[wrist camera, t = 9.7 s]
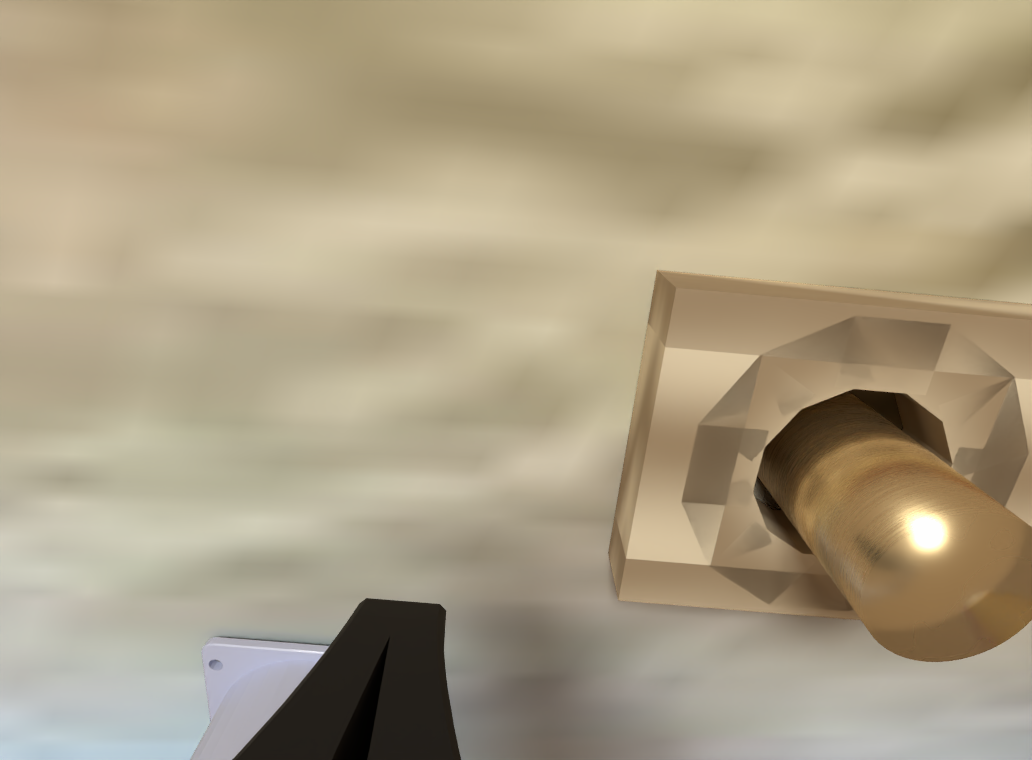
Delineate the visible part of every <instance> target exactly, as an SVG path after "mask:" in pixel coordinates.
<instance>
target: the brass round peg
mask: <svg viewBox="0 0 1032 760" xmlns="http://www.w3.org/2000/svg"><path fill="white" fill-rule="evenodd" d="M757 476H758V477H759V479H760V480H761V481H762V483H763V484H764V486H765V487H766V488H767V490H768V491H769V492H770V494H771V495H772V497H773V498H774V499H775V501H776V502H777V504H778V505H779V506H780V508H781V509H782V511H783V512H784V513H785V515H786V516H787V518H788V519H789V520H790V522H791V523H792V525H793V526H794V527H795V529H796V530H797V531H798V533H799V534H800V536H801V537H802V538H803V540H804V541H805V543H806V544H807V545H808V547H809V548H810V550H811V551H812V552H813V554H814V555H815V557H816V558H817V559H818V561H819V562H820V564H821V565H822V566H823V568H824V569H825V570H826V572H827V573H828V575H829V576H830V577H831V579H832V580H833V582H834V583H835V584H836V586H837V587H838V589H839V590H840V591H841V593H842V594H843V596H844V597H845V598H846V600H847V601H848V603H849V604H850V605H851V607H852V608H853V609H854V611H855V612H856V614H857V615H858V616H859V618H860V619H861V621H862V622H863V623H864V625H865V626H866V628H867V629H868V630H869V632H870V633H871V635H872V636H873V637H874V638H875V639H876V640H877V641H878V643H879V644H881V645H882V646H883V647H885V648H886V649H887V650H889V651H891V652H893V653H895V654H897V655H900V656H902V657H905V658H909V659H913V660H918V661H926V662H942V661H952V660H958V659H963V658H967V657H971V656H974V655H977V654H980V653H983V652H985V651H987V650H990V649H992V648H994V647H996V646H998V645H1000V644H1001V643H1003V642H1005V641H1007V640H1008V639H1010V638H1011V637H1012V636H1014V635H1015V634H1017V633H1018V632H1019V631H1020V630H1021V629H1022V628H1024V627H1025V626H1026V625H1027V624H1028V623H1029V622H1030V621H1031V620H1032V527H1031V526H1030V525H1028V524H1027V523H1026V522H1024V521H1023V520H1022V519H1020V518H1019V517H1018V516H1016V515H1015V514H1014V513H1012V512H1011V511H1010V510H1008V509H1007V508H1005V507H1004V506H1003V505H1001V504H1000V503H999V502H997V501H996V500H995V499H993V498H992V497H991V496H989V495H988V494H987V493H985V492H984V491H983V490H981V489H980V488H979V487H977V486H976V485H974V484H973V483H972V482H970V481H969V480H968V479H966V478H965V477H964V476H962V475H961V474H960V473H958V472H957V471H956V470H954V469H953V468H952V467H950V466H949V465H948V464H946V463H945V462H944V461H942V460H941V459H939V458H938V457H937V456H935V455H934V454H933V453H931V452H930V451H929V450H927V449H926V448H925V447H923V446H922V445H921V444H919V443H918V442H917V441H915V440H914V439H913V438H911V437H910V436H909V435H907V434H906V433H904V432H903V431H902V430H900V429H899V428H898V427H896V426H895V425H894V424H892V423H891V422H890V421H888V420H887V419H886V418H884V417H883V416H882V415H880V414H879V413H878V412H876V411H875V410H873V409H872V408H871V407H869V406H868V405H867V404H865V403H864V402H863V401H861V400H860V399H859V398H857V397H856V396H854V395H852V394H851V393H848V392H844V393H842V394H839V395H837V396H834V397H832V398H829V399H826V400H824V401H821V402H819V403H816V404H814V405H811V406H808V407H806V408H803V409H801V410H800V411H799V412H798V413H797V414H796V415H795V416H794V417H793V418H792V419H791V420H790V422H789V423H788V424H787V425H786V426H785V427H784V428H783V429H782V430H781V431H780V432H779V433H778V434H777V435H776V436H775V437H774V438H773V439H772V440H771V441H770V442H769V443H768V444H767V446H766V447H765V448H764V452H763V455H762V459H761V463H760V467H759V470H758V474H757Z"/></svg>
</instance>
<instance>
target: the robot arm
mask: <svg viewBox="0 0 1032 760" xmlns="http://www.w3.org/2000/svg"><path fill="white" fill-rule="evenodd" d="M445 620H446V610H445V609H444V608H443V607H442V606H441V605H440V604H431V603H419V602H406V601H394V600H381V599H369V598H366V599H365V600H364V601H362V602H361V603H360V604H359V605H358V607H357V608H356V610H355V611H354V613H353V614H352V616H351V617H350V619H349V620H348V621H347V623H346V624H345V626H344V627H343V628H342V630H341V631H340V633H339V634H338V635H337V637H336V638H335V639H334V641H333V642H332V643H331V645H330V646H324V645H311V644H298V643H286V642H273V641H260V640H248V639H235V638H222V637H214V638H211V639H209V640H208V641H207V642H206V644H205V645H204V647H203V648H202V659H203V667H204V675H205V683H206V691H207V699H208V707H209V714H210V724H209V726H208V728H207V730H206V731H205V733H204V735H203V737H202V739H201V740H200V742H199V744H198V746H197V748H196V750H195V751H194V753H193V755H192V757H191V759H190V760H461V757H460V753H459V749H458V744H457V739H456V734H455V729H454V724H453V718H452V712H451V706H450V700H449V694H448V688H447V680H446V671H445V659H444V637H445ZM217 660H219V661H220V662H219V661H217Z"/></svg>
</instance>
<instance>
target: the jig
mask: <svg viewBox="0 0 1032 760" xmlns="http://www.w3.org/2000/svg"><path fill="white" fill-rule="evenodd" d="M852 389H861V390H872V391H884V392H894V395H895V399H896V402H897V406H898V410H899V414H900V417H901V421H902V425H903V429H902V431H903V432H904V433H906V434H907V435H909V436H910V437H911V438H913V439H914V440H915V441H917V442H918V443H919V444H921V445H922V446H923V447H925V448H926V449H927V450H929V451H930V452H931V453H933V454H934V455H935V456H937V457H938V458H939V459H941V460H942V461H944V462H945V463H946V464H948V465H949V466H950V467H952V468H953V469H954V470H956V471H957V472H958V473H960V474H961V475H962V476H964V477H965V478H966V479H968V480H969V481H970V482H972V483H973V484H974V485H976V486H977V487H979V488H980V489H981V490H983V491H984V492H985V493H987V494H988V495H989V496H991V497H992V498H993V499H995V500H996V501H997V502H999V503H1000V504H1001V505H1003V506H1004V507H1005V508H1007V509H1008V510H1010V511H1011V512H1012V513H1014V514H1015V515H1016V516H1018V517H1019V518H1020V519H1022V520H1023V521H1024V522H1026V523H1027V524H1028V525H1030V526H1031V527H1032V304H1022V303H1011V302H1000V301H989V300H978V299H967V298H956V297H945V296H934V295H923V294H912V293H901V292H890V291H879V290H868V289H857V288H846V287H835V286H824V285H813V284H802V283H792V282H781V281H770V280H759V279H748V278H737V277H726V276H715V275H704V274H693V273H682V272H671V271H660V270H657V274H656V280H655V285H654V291H653V297H652V303H651V309H650V314H649V320H648V326H647V332H646V338H645V343H644V349H643V355H642V361H641V367H640V372H639V378H638V384H637V390H636V396H635V401H634V407H633V413H632V419H631V425H630V430H629V436H628V442H627V448H626V454H625V459H624V465H623V471H622V477H621V483H620V488H619V494H618V500H617V506H616V512H615V517H614V523H613V529H612V535H611V541H610V546H609V552H608V553H609V558H610V563H611V568H612V573H613V577H614V582H615V587H616V592H617V597H618V600H619V601H632V602H644V603H656V604H669V605H681V606H693V607H706V608H718V609H731V610H743V611H755V612H768V613H780V614H792V615H805V616H817V617H829V618H842V619H854V620H861V619H860V618H859V616H858V615H857V614H856V612H855V611H854V609H853V608H852V607H851V605H850V604H849V603H848V601H847V600H846V598H845V597H844V596H843V594H842V593H841V591H840V590H839V589H838V587H837V586H836V584H835V583H834V582H833V580H832V579H831V577H830V576H829V575H828V573H827V572H826V570H825V569H824V568H823V566H822V565H821V564H820V562H819V561H818V559H817V558H816V557H815V555H814V554H813V552H812V551H811V550H810V548H809V547H808V545H807V544H806V543H805V541H804V540H803V538H802V537H801V536H800V534H799V533H798V531H797V530H796V529H795V527H794V526H793V525H792V523H791V522H790V520H789V519H788V518H787V516H786V515H785V513H784V512H783V511H782V510H772V509H771V508H769V507H768V506H766V505H765V504H763V503H762V502H760V501H759V500H757V499H756V498H755V496H754V494H753V489H754V486H755V482H756V478H757V474H758V470H759V467H760V463H761V459H762V455H763V452H764V448H765V447H766V446H767V444H768V443H769V442H770V441H771V440H772V439H773V438H774V437H775V436H776V435H777V434H778V433H779V432H780V431H781V430H782V429H783V428H784V427H785V426H786V425H787V424H788V423H789V422H790V420H791V419H792V418H793V417H794V416H795V415H796V414H797V413H798V412H799V411H800V410H801V409H803V408H806V407H808V406H811V405H814V404H816V403H819V402H821V401H824V400H826V399H829V398H832V397H834V396H837V395H839V394H842V393H844V392H847V391H850V390H852Z"/></svg>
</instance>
